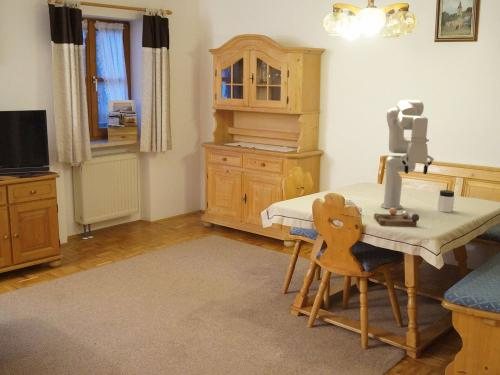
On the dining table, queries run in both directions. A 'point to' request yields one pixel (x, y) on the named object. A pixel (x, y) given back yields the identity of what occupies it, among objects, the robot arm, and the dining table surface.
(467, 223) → the dining table surface
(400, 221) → the board
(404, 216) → the steel ball
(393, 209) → the terracotta ball
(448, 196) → the jar
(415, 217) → the black ball
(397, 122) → the robot arm
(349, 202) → the penguin figurine
